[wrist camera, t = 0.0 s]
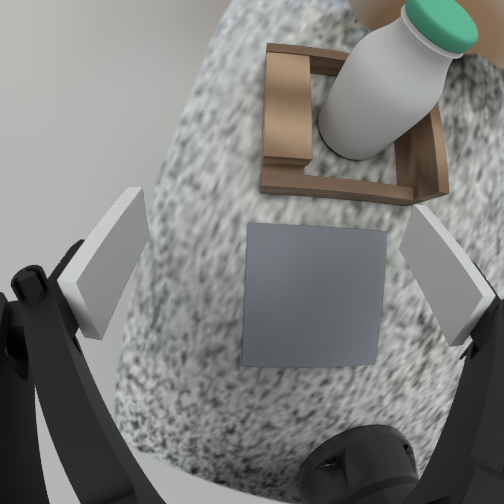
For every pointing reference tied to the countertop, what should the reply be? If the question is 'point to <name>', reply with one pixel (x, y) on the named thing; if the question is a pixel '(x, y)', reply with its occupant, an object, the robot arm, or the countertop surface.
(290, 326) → the rubber mat
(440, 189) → the frame
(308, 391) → the countertop surface
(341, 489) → the robot arm
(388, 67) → the milk bottle
